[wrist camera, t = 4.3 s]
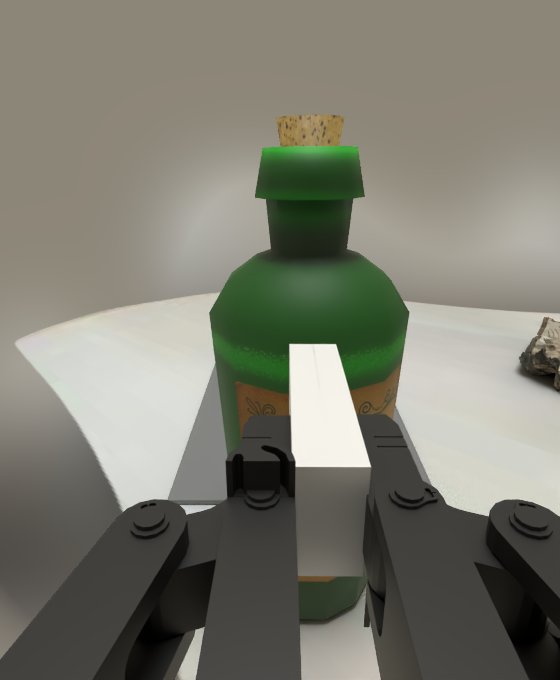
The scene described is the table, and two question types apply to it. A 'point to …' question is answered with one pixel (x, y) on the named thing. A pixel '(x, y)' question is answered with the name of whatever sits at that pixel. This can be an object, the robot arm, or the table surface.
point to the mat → (223, 454)
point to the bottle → (308, 304)
